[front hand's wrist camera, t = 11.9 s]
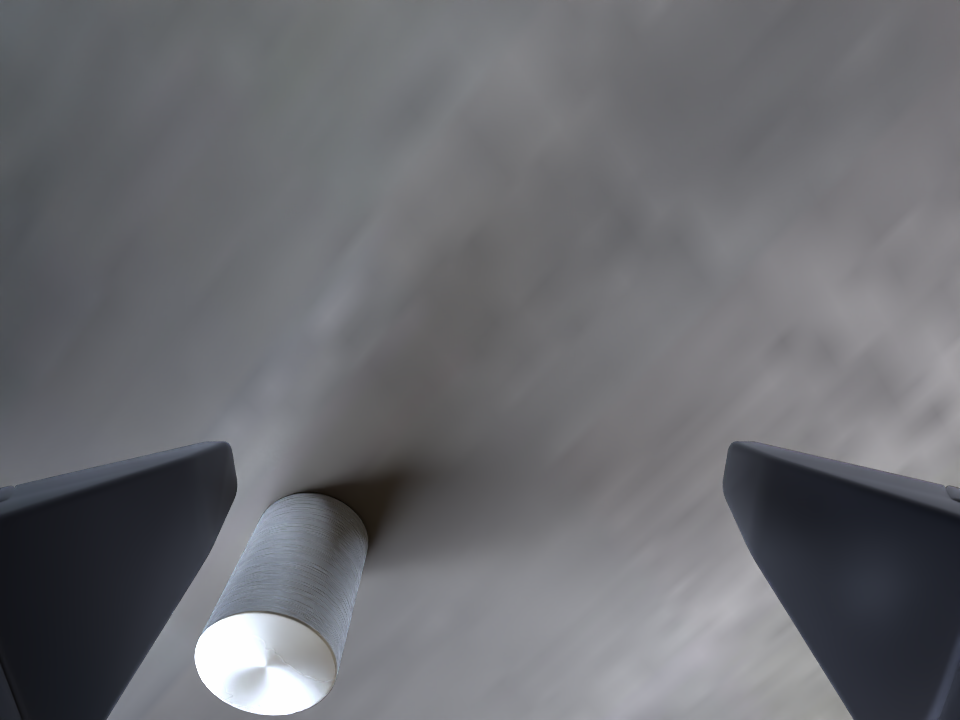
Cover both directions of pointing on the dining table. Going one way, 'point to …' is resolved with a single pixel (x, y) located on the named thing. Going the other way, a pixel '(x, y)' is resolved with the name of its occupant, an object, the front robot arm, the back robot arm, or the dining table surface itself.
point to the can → (286, 608)
